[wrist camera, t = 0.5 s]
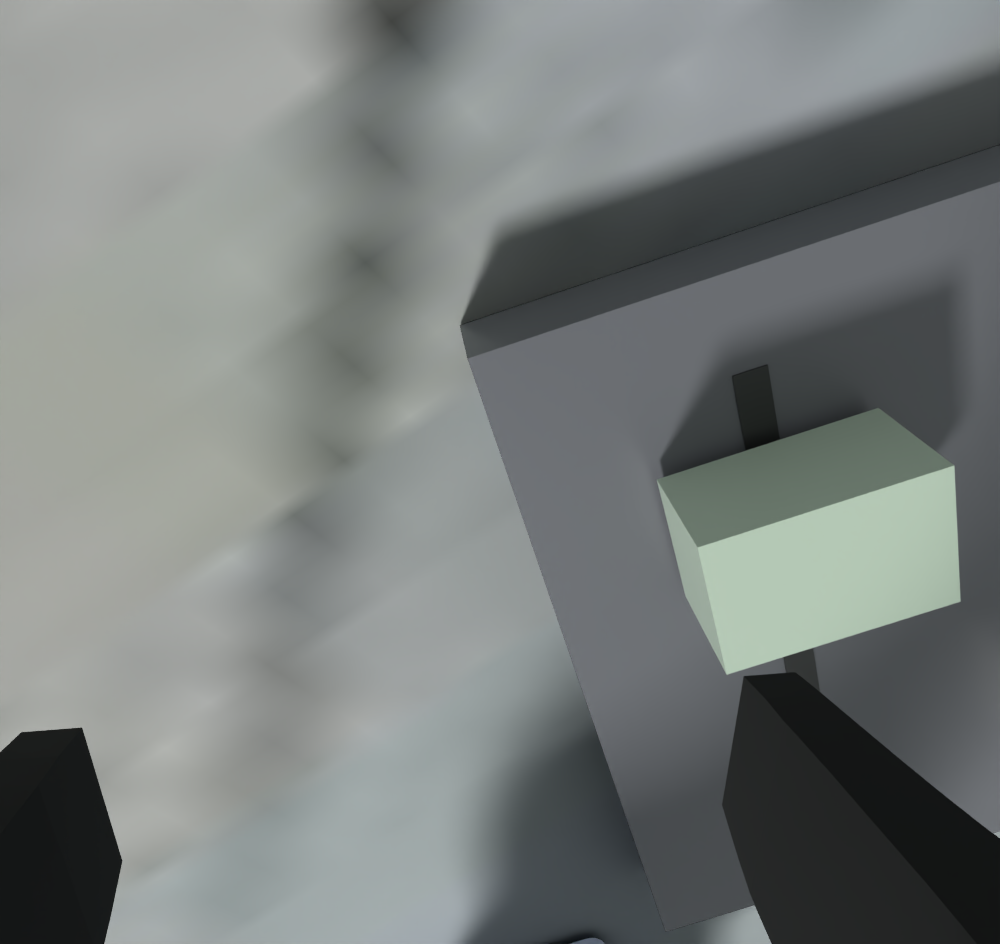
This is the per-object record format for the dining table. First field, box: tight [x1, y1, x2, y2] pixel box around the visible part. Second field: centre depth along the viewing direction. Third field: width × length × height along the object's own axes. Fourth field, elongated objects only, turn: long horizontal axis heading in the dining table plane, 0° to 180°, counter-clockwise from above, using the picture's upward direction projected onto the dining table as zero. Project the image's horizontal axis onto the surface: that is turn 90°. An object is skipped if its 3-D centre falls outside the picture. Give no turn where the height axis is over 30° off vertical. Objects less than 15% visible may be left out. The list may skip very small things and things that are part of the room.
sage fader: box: [657, 408, 961, 675], centre depth 16 cm, size 3×4×2 cm, turn 107°
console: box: [460, 145, 1000, 932], centre depth 20 cm, size 18×18×2 cm
